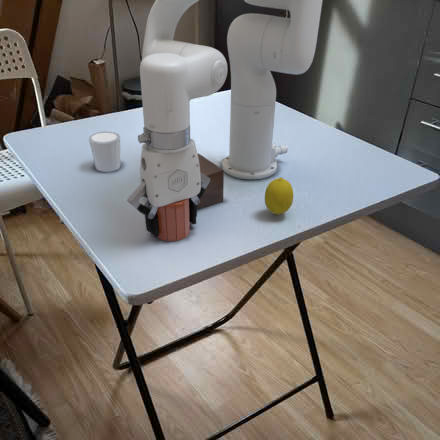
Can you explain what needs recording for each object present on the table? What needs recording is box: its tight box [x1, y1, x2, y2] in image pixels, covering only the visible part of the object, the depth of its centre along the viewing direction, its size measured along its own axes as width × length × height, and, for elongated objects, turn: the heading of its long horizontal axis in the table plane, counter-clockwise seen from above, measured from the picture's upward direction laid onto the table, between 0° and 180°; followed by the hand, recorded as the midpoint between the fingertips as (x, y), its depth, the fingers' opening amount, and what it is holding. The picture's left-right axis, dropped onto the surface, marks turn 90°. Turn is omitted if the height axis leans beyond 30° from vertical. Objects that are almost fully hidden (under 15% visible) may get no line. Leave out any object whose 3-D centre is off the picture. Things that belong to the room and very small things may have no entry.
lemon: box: [264, 177, 294, 216], centre depth 101 cm, size 6×6×8 cm
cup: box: [155, 198, 191, 242], centre depth 95 cm, size 7×7×8 cm
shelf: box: [197, 152, 225, 211], centre depth 105 cm, size 12×10×7 cm
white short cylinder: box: [88, 131, 122, 173], centre depth 117 cm, size 7×7×7 cm
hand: (172, 226), depth 97 cm, fingers open, 7 cm apart
